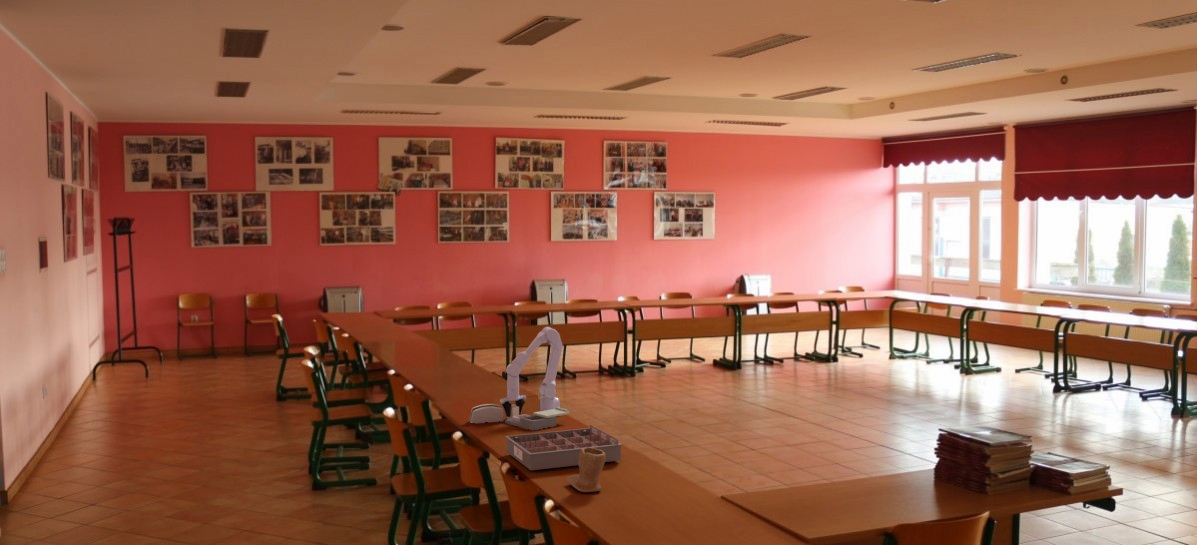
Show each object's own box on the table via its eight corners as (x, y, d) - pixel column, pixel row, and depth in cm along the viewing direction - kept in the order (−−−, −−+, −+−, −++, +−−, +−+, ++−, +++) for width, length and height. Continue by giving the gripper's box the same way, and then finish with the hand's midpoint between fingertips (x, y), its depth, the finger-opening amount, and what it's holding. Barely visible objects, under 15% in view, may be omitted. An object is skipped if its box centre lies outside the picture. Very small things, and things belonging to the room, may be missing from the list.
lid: (555, 410, 459) (555, 406, 459) (569, 413, 451) (569, 410, 451) (533, 414, 449) (533, 410, 449) (546, 418, 442) (546, 414, 442)
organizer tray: (504, 455, 394) (504, 431, 393) (592, 445, 410) (592, 423, 409) (529, 474, 365) (529, 449, 364) (623, 463, 380) (623, 439, 380)
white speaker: (501, 418, 462) (503, 401, 458) (504, 424, 458) (505, 406, 454) (468, 421, 456) (469, 403, 452) (470, 426, 452) (471, 408, 448)
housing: (527, 418, 462) (527, 409, 462) (556, 426, 446) (556, 416, 446) (504, 423, 453) (504, 413, 453) (533, 430, 437) (533, 421, 436)
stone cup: (609, 492, 341) (609, 451, 340) (578, 495, 337) (578, 454, 336) (596, 481, 355) (596, 442, 354) (566, 484, 351) (566, 444, 350)
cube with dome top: (514, 417, 466) (514, 403, 465) (519, 418, 463) (519, 405, 462) (507, 418, 463) (507, 405, 462) (512, 420, 460) (512, 406, 459)
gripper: (519, 385, 470) (520, 412, 470) (496, 389, 460) (496, 416, 461) (528, 387, 464) (528, 414, 465) (505, 391, 455) (505, 418, 456)
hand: (513, 415), depth 463 cm, fingers open, 6 cm apart
